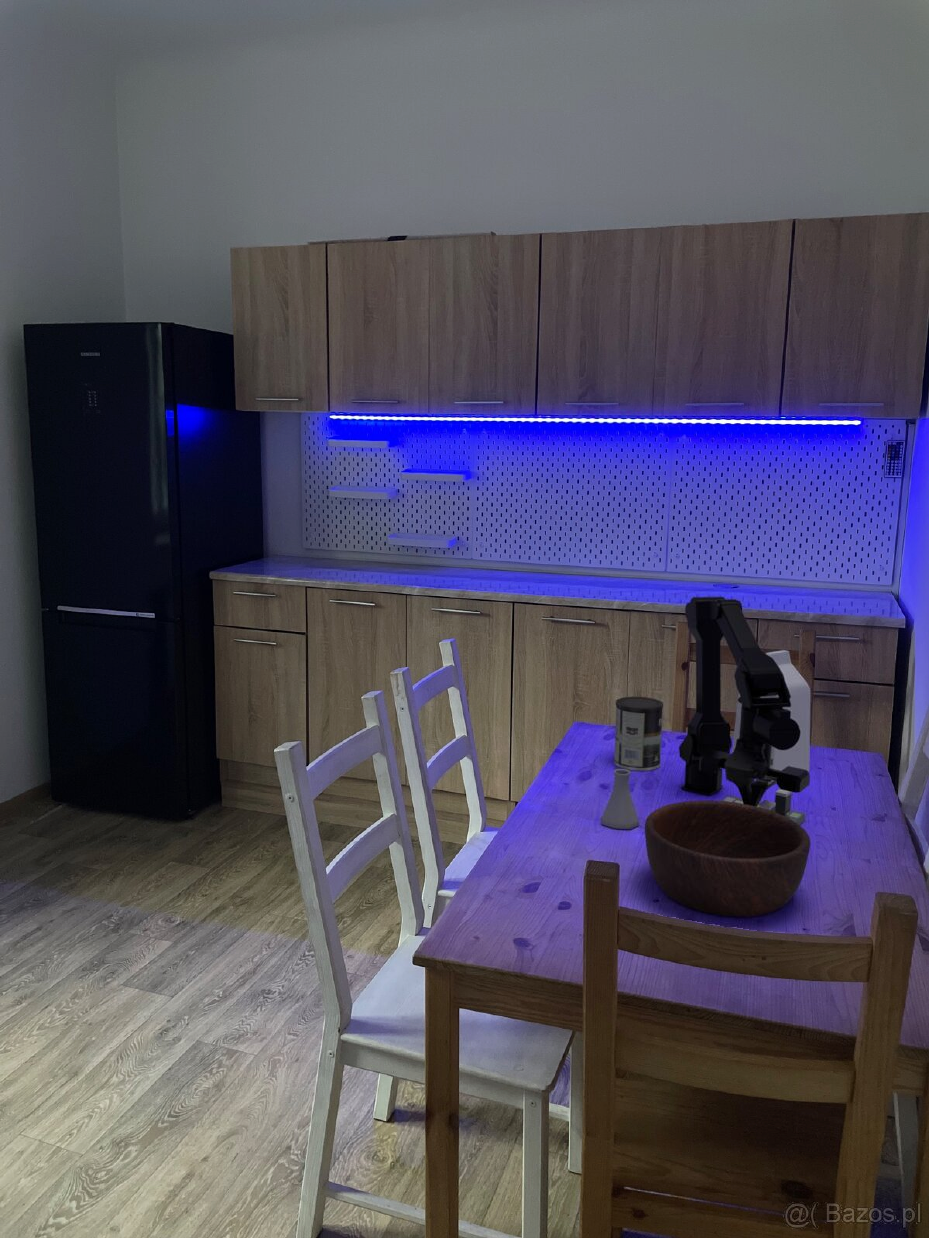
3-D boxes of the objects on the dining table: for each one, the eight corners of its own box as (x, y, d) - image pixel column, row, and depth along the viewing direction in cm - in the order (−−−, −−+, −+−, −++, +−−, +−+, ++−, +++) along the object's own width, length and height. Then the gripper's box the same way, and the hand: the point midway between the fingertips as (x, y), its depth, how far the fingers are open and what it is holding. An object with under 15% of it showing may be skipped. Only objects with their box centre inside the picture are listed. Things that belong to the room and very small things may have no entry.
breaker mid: (757, 825, 174) (758, 804, 173) (763, 820, 176) (764, 799, 176) (768, 828, 173) (769, 807, 172) (774, 823, 175) (775, 802, 174)
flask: (644, 819, 181) (646, 768, 180) (633, 833, 175) (636, 780, 173) (606, 813, 184) (608, 763, 183) (595, 826, 178) (597, 774, 176)
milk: (772, 780, 204) (781, 660, 199) (730, 765, 213) (737, 650, 209) (809, 770, 210) (818, 653, 206) (766, 756, 220) (774, 644, 215)
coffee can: (655, 756, 219) (658, 696, 216) (664, 771, 209) (667, 708, 206) (610, 756, 219) (612, 695, 216) (616, 771, 209) (619, 707, 206)
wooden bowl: (819, 935, 139) (824, 867, 137) (642, 918, 143) (645, 853, 141) (792, 863, 163) (796, 805, 161) (641, 851, 167) (644, 794, 165)
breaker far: (774, 812, 181) (775, 791, 180) (780, 807, 183) (781, 787, 182) (784, 814, 180) (786, 794, 179) (790, 810, 182) (791, 789, 181)
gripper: (688, 732, 173) (683, 815, 176) (792, 754, 162) (784, 842, 164) (714, 719, 182) (708, 798, 184) (814, 739, 170) (806, 823, 173)
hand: (750, 815), depth 176 cm, fingers closed
